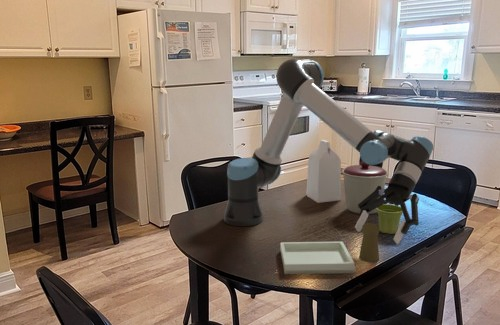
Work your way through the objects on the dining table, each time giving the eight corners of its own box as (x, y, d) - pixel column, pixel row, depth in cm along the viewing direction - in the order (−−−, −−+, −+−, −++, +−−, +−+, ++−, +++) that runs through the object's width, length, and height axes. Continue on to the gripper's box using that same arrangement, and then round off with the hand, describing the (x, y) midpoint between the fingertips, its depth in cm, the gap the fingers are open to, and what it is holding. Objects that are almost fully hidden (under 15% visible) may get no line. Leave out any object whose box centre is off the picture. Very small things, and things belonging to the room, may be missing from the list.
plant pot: (390, 225, 162) (391, 202, 161) (407, 233, 154) (409, 210, 152) (369, 228, 159) (370, 205, 157) (386, 237, 151) (387, 213, 149)
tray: (284, 274, 125) (284, 264, 124) (280, 251, 141) (280, 242, 140) (354, 273, 125) (354, 263, 124) (342, 250, 141) (342, 241, 140)
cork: (380, 262, 131) (382, 228, 129) (359, 261, 133) (360, 227, 130) (378, 254, 137) (380, 221, 135) (358, 253, 138) (360, 220, 136)
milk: (306, 195, 201) (307, 139, 196) (328, 192, 205) (330, 138, 199) (317, 202, 190) (319, 143, 185) (341, 200, 193) (343, 142, 188)
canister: (395, 214, 174) (399, 162, 169) (357, 220, 167) (359, 167, 163) (367, 201, 190) (370, 154, 186) (332, 207, 184) (333, 158, 179)
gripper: (446, 193, 133) (417, 253, 127) (375, 178, 152) (347, 230, 145) (439, 179, 129) (409, 241, 122) (366, 166, 147) (337, 219, 141)
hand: (375, 235), depth 134 cm, fingers open, 13 cm apart
